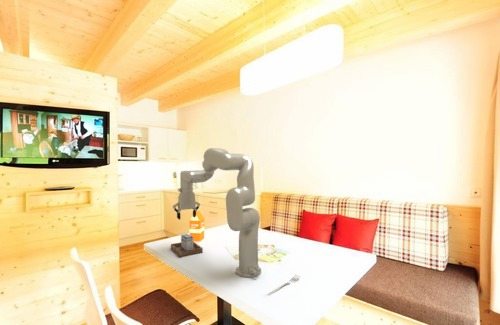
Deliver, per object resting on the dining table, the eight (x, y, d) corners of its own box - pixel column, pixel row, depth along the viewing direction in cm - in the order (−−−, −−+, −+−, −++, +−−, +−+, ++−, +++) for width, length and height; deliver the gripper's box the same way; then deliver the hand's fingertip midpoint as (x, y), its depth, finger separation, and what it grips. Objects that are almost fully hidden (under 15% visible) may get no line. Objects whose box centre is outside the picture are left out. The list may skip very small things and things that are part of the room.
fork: (260, 296, 103) (260, 292, 103) (295, 277, 120) (295, 274, 120) (266, 299, 101) (266, 295, 101) (301, 280, 118) (301, 276, 118)
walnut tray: (202, 253, 153) (202, 248, 153) (179, 257, 146) (179, 252, 146) (192, 245, 168) (192, 240, 168) (171, 248, 161) (171, 244, 161)
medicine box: (180, 248, 159) (180, 234, 159) (187, 247, 162) (187, 233, 162) (186, 252, 153) (186, 237, 153) (193, 250, 156) (193, 236, 156)
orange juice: (204, 238, 184) (204, 210, 184) (199, 241, 176) (199, 212, 176) (194, 237, 186) (194, 210, 186) (189, 241, 177) (189, 212, 177)
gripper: (174, 192, 150) (174, 221, 149) (202, 190, 159) (202, 217, 159) (170, 191, 156) (171, 218, 156) (197, 189, 165) (197, 215, 165)
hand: (186, 218), depth 157 cm, fingers open, 9 cm apart
